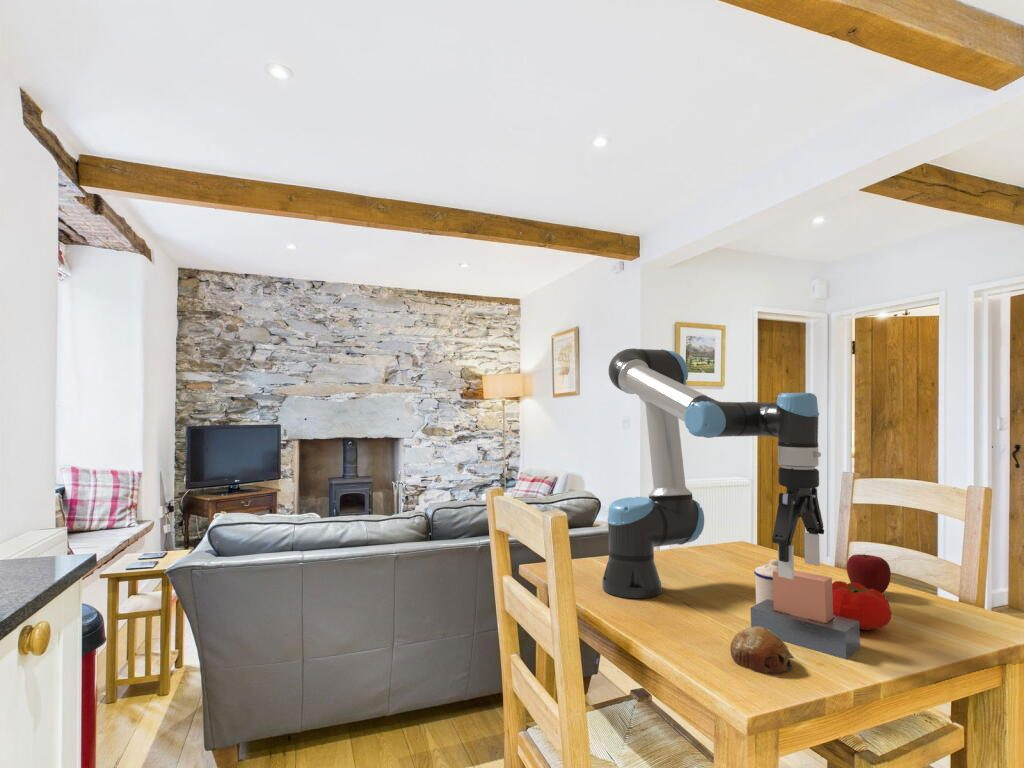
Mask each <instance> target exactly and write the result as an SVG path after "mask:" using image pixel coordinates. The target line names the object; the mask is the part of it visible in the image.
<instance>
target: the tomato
mask: <svg viewBox="0 0 1024 768" xmlns="http://www.w3.org/2000/svg"><path fill="white" fill-rule="evenodd" d="M832 597H833V615H835V616H839V617H844V618H848V619H852V620H856V621H859V630H863V631H868V630H875V629H879V628H882V627H885V626H887V625H888V624H889V623H890V621H891V620H892V610H891V606H890V603H889V600H888V599H887V598H886V596H885V595H884V593H881V592H879V591H876V590H874V589H869V590H868V589H867V588H866V587H864V586H863V585H861V584H859V583H856V582H852V583H851V582H846V581H842V580H835V581H834V582H832Z"/></svg>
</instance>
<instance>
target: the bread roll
mask: <svg viewBox="0 0 1024 768" xmlns="http://www.w3.org/2000/svg"><path fill="white" fill-rule="evenodd" d="M729 651H730V655H731V658H732V659H733V661H734V663H736V664H737V665H738V666H740V667H742V668H744V669H747V670H751V671H754V672H756V673H760V674H762V673H763V674H770V675H775V674H779V675H780V674H782V673H784V672H787V671H788V670H789V669H793V668H792V667H793V666H792V664H791V660H793V659H795V656H794V655H792V653H791V652H790V650H789V648H788V646H787V644H785V641H782V640H781V639H780V638H779V637H778V636H776V635H775V634H774V633H773V632H772V631H770V630H768V629H766V628H763V627H758V626H757V627H751V626H750V627H747V628H745V629H742V630H740V631H738V632H737V633H736V634H735V636H733V638H732V639H731V642H730V649H729ZM790 659H791V660H790Z"/></svg>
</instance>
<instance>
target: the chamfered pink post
mask: <svg viewBox="0 0 1024 768" xmlns="http://www.w3.org/2000/svg"><path fill="white" fill-rule="evenodd" d="M832 583H833V577H831V576H825V575H820V574H815V573H810V572H805V571H800V570H795V569H794V579H788V578H784V577H779V576H778V569H777V570H774V571H773V599H774V610H775V611H778V612H780V613H784V614H788V615H789V614H791V615H795V616H799V617H803V618H807V619H811V620H814V621H815V622H819V623H823V624H827V623H829V621H830V620H832V619H833V597H832Z"/></svg>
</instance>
